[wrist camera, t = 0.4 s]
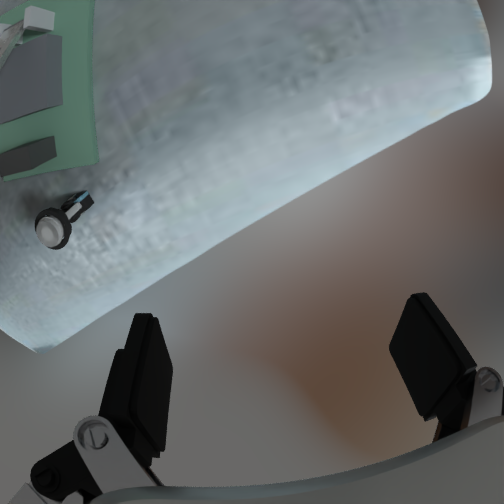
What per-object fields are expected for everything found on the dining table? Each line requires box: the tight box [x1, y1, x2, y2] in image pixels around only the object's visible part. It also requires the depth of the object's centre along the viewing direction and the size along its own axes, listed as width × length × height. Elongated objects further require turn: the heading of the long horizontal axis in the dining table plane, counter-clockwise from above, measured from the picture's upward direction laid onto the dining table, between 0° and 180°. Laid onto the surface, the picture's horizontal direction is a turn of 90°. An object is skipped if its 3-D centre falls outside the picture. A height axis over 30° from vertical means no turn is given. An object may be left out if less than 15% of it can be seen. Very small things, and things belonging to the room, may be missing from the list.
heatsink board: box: [0, 0, 99, 182], centre depth 23 cm, size 28×18×8 cm, turn 0°
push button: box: [35, 191, 94, 250], centre depth 33 cm, size 7×5×10 cm
